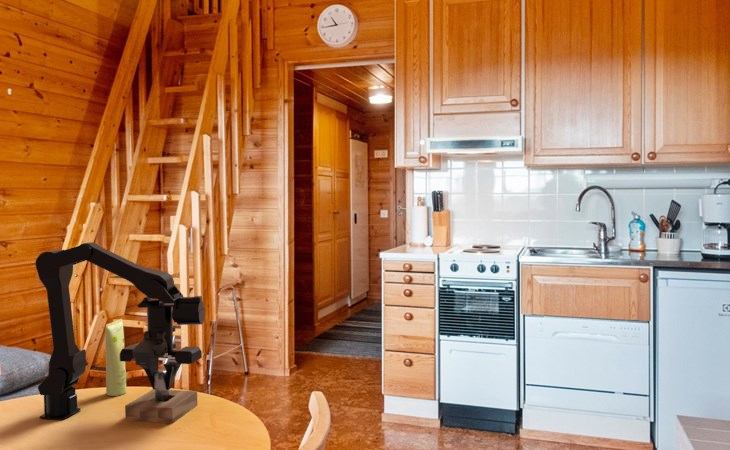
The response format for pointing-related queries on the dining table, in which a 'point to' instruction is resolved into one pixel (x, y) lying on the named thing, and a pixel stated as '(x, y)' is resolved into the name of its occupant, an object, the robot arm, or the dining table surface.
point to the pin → (160, 386)
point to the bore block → (161, 407)
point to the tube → (115, 359)
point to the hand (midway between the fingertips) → (161, 389)
